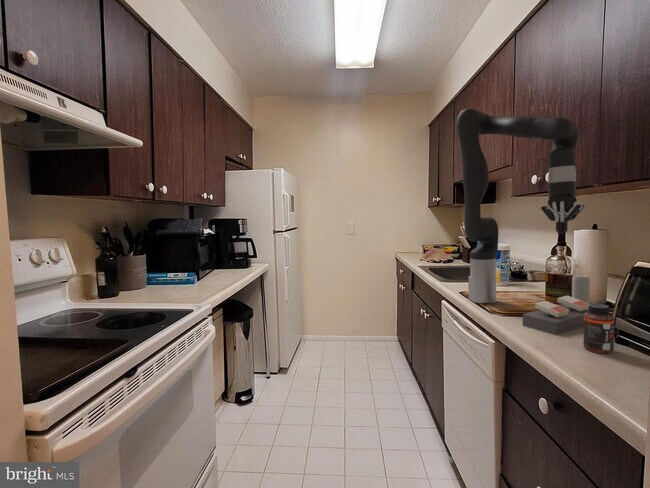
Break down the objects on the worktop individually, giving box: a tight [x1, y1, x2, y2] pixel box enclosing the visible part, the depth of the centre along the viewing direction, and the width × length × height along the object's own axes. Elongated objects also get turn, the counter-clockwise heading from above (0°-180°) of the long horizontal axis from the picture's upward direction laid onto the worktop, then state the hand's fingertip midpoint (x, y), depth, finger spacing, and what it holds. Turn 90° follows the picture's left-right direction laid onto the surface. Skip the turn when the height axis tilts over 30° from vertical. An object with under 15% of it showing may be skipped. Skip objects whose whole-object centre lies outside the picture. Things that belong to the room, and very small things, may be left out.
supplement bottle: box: [583, 303, 615, 355], centre depth 84 cm, size 6×6×11 cm
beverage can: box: [571, 274, 591, 304], centre depth 116 cm, size 5×5×12 cm
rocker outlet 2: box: [556, 294, 590, 311], centre depth 107 cm, size 7×5×2 cm
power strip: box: [522, 304, 589, 336], centre depth 105 cm, size 10×22×4 cm, turn 114°
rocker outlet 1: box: [534, 300, 569, 317], centre depth 103 cm, size 7×5×2 cm
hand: (561, 233), depth 113 cm, fingers closed
